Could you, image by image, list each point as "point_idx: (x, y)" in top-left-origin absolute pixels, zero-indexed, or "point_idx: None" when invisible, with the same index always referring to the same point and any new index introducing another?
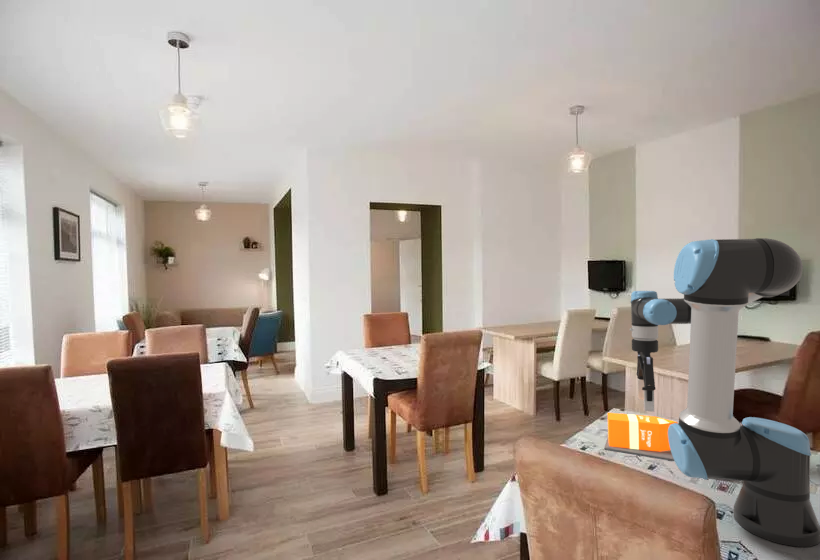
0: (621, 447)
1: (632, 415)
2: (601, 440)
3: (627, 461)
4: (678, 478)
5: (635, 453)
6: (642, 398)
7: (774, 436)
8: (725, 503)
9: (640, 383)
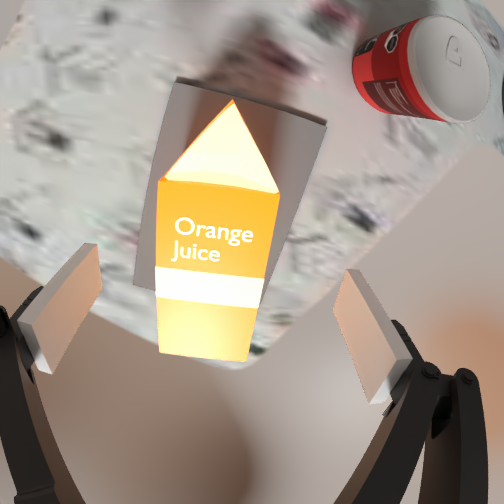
0: None
1: (171, 281)
2: None
3: (329, 270)
4: (417, 177)
5: (283, 243)
6: (97, 271)
7: None
8: (493, 138)
9: (58, 343)
